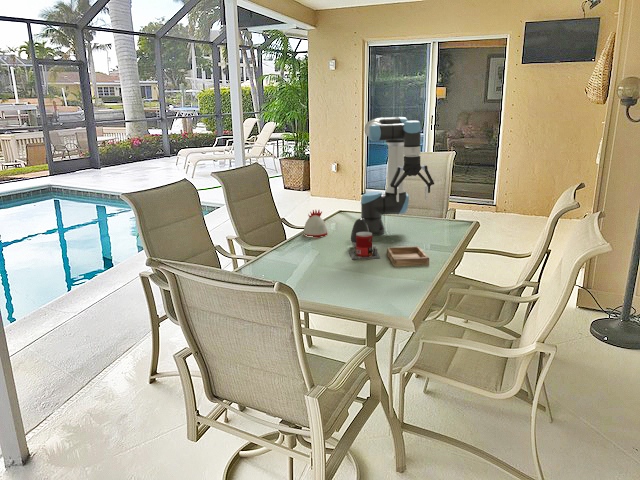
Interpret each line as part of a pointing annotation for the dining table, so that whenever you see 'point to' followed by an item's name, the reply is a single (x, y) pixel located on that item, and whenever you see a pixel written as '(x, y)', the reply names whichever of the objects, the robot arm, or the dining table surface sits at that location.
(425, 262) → the tray
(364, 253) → the canned food
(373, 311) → the dining table surface
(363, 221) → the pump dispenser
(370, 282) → the dining table surface
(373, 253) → the frame
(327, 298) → the dining table surface
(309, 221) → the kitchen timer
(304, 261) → the dining table surface
